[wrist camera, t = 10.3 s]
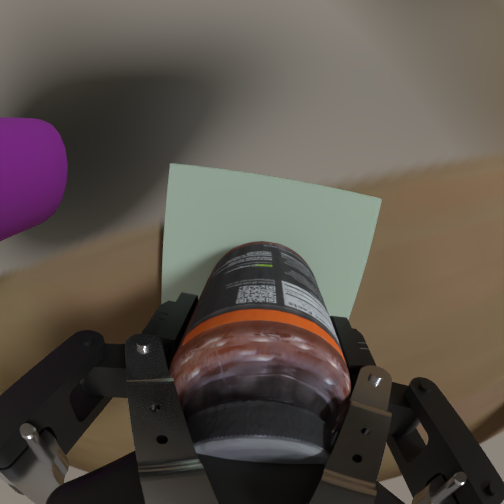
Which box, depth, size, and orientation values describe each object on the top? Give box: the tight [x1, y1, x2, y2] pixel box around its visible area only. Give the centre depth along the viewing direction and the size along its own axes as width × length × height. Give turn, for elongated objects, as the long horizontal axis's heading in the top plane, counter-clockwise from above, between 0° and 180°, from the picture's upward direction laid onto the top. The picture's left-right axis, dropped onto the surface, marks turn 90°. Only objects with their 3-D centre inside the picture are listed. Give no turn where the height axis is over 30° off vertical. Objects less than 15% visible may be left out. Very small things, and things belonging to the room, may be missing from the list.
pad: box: [161, 163, 382, 319], centre depth 17 cm, size 12×12×1 cm
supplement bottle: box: [169, 241, 351, 464], centre depth 11 cm, size 6×6×11 cm
